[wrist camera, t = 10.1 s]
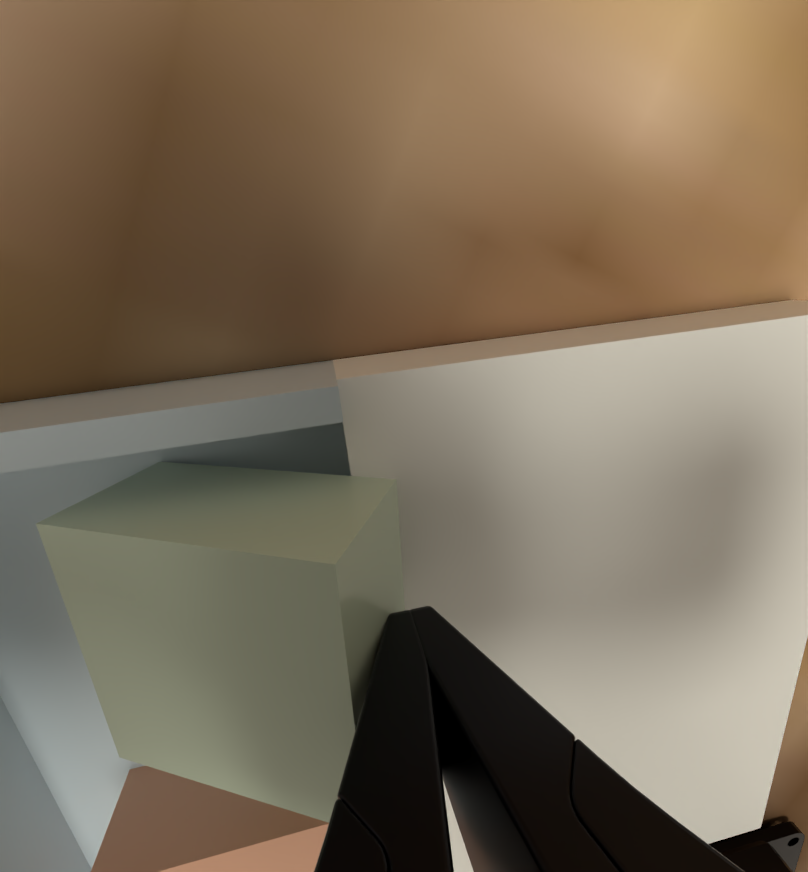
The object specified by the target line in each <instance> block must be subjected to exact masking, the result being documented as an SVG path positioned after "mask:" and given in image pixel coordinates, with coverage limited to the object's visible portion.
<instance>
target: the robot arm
mask: <svg viewBox="0 0 808 872" xmlns="http://www.w3.org/2000/svg"><path fill="white" fill-rule="evenodd" d="M443 781H444V784H445V787H446V790H447V793H448V796H449V799H450V802H451V805H452V808H453V811H454V814H455V817H456V820H457V823H458V826H459V829H460V832H461V835H462V838H463V841H464V844H465V847H466V850H467V853H468V856H469V859H470V862H471V865H472V868H473V871H474V872H795V869H796V865H797V862H798V858H799V855H800V852H801V848H802V845H803V842H804V836H805V835H804V834H803V833H802V832H801V831H800V830H799V829H798V827H797V826H796V825H795V824H794V823H793V822H785V823H782V824H778V825H775V826H772V827H769V828H765V829H762V830H759V831H756V832H752V833H749V834H746V835H743V836H739V837H736V838H733V839H729V840H726V841H723V842H720V843H716V844H713V845H709V844H707V843H706V842H705V841H703V840H702V839H701V838H699V837H698V836H697V835H695V834H694V833H693V832H691V831H690V830H689V829H687V828H686V827H685V826H683V825H682V824H681V823H679V822H678V821H677V820H675V819H674V818H673V817H672V816H670V815H669V814H668V813H666V812H665V811H664V810H663V809H661V808H660V807H659V806H658V805H656V804H655V803H654V802H652V801H651V800H650V799H649V798H647V797H646V796H645V795H643V794H642V793H641V792H640V791H638V790H637V789H636V788H635V787H633V786H632V785H631V784H630V783H629V782H628V781H626V780H625V779H624V778H623V777H622V776H621V775H619V774H618V773H617V772H616V771H615V770H614V769H612V768H611V767H610V766H609V765H608V764H607V763H605V762H604V761H603V760H602V759H601V758H600V757H598V756H597V755H596V754H595V753H594V752H593V751H592V750H591V749H590V748H588V747H587V746H586V745H585V744H584V743H583V742H582V741H581V740H579V739H577V740H576V741H575V736H574V734H573V733H572V732H570V731H569V730H568V729H567V728H566V727H565V726H564V725H563V724H562V723H560V722H559V721H558V720H557V719H556V718H555V717H554V716H553V715H552V714H550V713H549V712H548V711H547V710H546V709H545V708H544V707H543V706H542V705H540V704H539V703H538V702H537V701H536V700H535V699H534V698H533V697H532V696H530V695H529V694H528V693H527V692H526V691H525V690H524V689H523V688H522V687H520V686H519V685H518V684H517V683H516V682H515V681H514V680H513V679H511V678H510V677H509V676H508V675H507V674H506V673H505V672H504V671H503V670H501V669H500V668H499V667H498V666H497V665H496V664H495V663H494V662H493V661H491V660H490V659H489V658H488V657H487V656H486V655H485V654H484V653H483V652H481V651H480V650H479V649H478V648H477V647H476V646H475V645H474V644H473V643H471V642H470V641H469V640H468V639H467V638H466V637H465V636H464V635H463V634H461V633H460V632H459V631H458V630H457V629H456V628H455V627H454V626H453V625H451V624H450V623H449V622H448V621H447V620H446V619H445V618H444V617H442V616H441V615H440V614H439V613H438V612H437V611H436V610H435V609H434V608H432V607H431V606H424V607H419V608H414V609H410V610H404V611H399V612H394V613H390V614H389V616H388V618H387V621H386V624H385V628H384V631H383V635H382V638H381V642H380V646H379V649H378V653H377V656H376V660H375V663H374V667H373V670H372V674H371V677H370V681H369V684H368V688H367V692H366V695H365V699H364V702H363V706H362V709H361V713H360V716H359V720H358V723H357V727H356V730H355V734H354V738H353V741H352V745H351V748H350V752H349V755H348V759H347V762H346V766H345V769H344V773H343V776H342V780H341V784H340V787H339V791H338V794H337V797H338V799H337V800H336V801H335V804H334V807H333V811H332V814H331V818H330V821H329V825H328V828H327V832H326V835H325V838H324V841H323V844H322V848H321V851H320V854H319V857H318V860H317V864H316V867H315V870H314V872H454V868H453V860H452V851H451V843H450V835H449V826H448V818H447V810H446V801H445V793H444V785H443Z"/></svg>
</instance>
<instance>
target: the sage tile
mask: <svg viewBox="0 0 808 872" xmlns="http://www.w3.org/2000/svg"><path fill="white" fill-rule="evenodd" d="M36 526H37V528H38V531H39V534H40V537H41V540H42V542H43V545H44V548H45V551H46V554H47V556H48V559H49V562H50V565H51V568H52V570H53V573H54V576H55V579H56V582H57V584H58V587H59V590H60V593H61V596H62V598H63V601H64V604H65V607H66V609H67V612H68V615H69V618H70V621H71V623H72V626H73V629H74V632H75V635H76V637H77V640H78V643H79V646H80V649H81V651H82V654H83V657H84V660H85V663H86V665H87V668H88V671H89V674H90V677H91V679H92V682H93V685H94V688H95V690H96V693H97V696H98V699H99V702H100V704H101V707H102V710H103V713H104V716H105V718H106V721H107V724H108V727H109V730H110V732H111V735H112V738H113V741H114V744H115V746H116V749H117V752H118V755H119V757H120V758H123V759H126V760H129V761H133V762H136V763H139V764H142V765H145V766H149V767H152V768H155V769H158V770H161V771H165V772H168V773H171V774H174V775H178V776H181V777H184V778H187V779H190V780H194V781H197V782H200V783H203V784H206V785H210V786H213V787H216V788H219V789H222V790H226V791H229V792H232V793H235V794H239V795H242V796H245V797H248V798H251V799H255V800H258V801H261V802H264V803H267V804H271V805H274V806H277V807H280V808H283V809H287V810H290V811H293V812H296V813H299V814H303V815H306V816H309V817H312V818H316V819H319V820H322V821H325V822H328V823H329V821H330V818H331V814H332V811H333V807H334V804H335V801H336V800H337V799H338V797H337V794H338V791H339V787H340V784H341V780H342V776H343V773H344V769H345V766H346V762H347V759H348V755H349V752H350V748H351V745H352V741H353V738H354V734H355V730H356V727H357V723H358V720H359V716H360V713H361V709H362V706H363V702H364V699H365V695H366V692H367V688H368V684H369V681H370V677H371V674H372V670H373V667H374V663H375V660H376V656H377V653H378V649H379V646H380V642H381V638H382V635H383V631H384V628H385V624H386V621H387V618H388V616H389V614H390V613H394V612H399V611H404V610H405V604H404V589H403V573H402V558H401V542H400V526H399V511H398V495H397V480H396V479H384V478H371V477H358V476H344V475H331V474H318V473H305V472H292V471H279V470H265V469H252V468H239V467H226V466H213V465H199V464H186V463H173V462H158V463H156V464H154V465H152V466H150V467H148V468H146V469H144V470H142V471H140V472H138V473H136V474H134V475H132V476H130V477H128V478H126V479H124V480H122V481H120V482H118V483H116V484H114V485H112V486H110V487H108V488H106V489H104V490H102V491H100V492H98V493H96V494H94V495H92V496H90V497H88V498H86V499H84V500H82V501H80V502H78V503H76V504H74V505H72V506H70V507H68V508H66V509H64V510H62V511H60V512H58V513H56V514H54V515H52V516H50V517H48V518H46V519H44V520H42V521H40V522H38V523H36Z"/></svg>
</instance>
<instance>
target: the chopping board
mask: <svg viewBox="0 0 808 872" xmlns="http://www.w3.org/2000/svg"><path fill="white" fill-rule="evenodd" d="M333 365H334V369H335V374H336V379H337V384H338V390H339V396H340V403H341V410H342V416H343V422H342V424H343V431H344V437H345V444H346V450H347V457H348V463H349V470H350V476H358V477H371V478H384V479H396V480H397V495H398V511H399V526H400V542H401V558H402V573H403V589H404V604H405V610H410V609H414V608H419V607H424V606H431V607H432V608H434V609H435V610H436V611H437V612H438V613H439V614H440V615H441V616H442V617H444V618H445V619H446V620H447V621H448V622H449V623H450V624H451V625H453V626H454V627H455V628H456V629H457V630H458V631H459V632H460V633H461V634H463V635H464V636H465V637H466V638H467V639H468V640H469V641H470V642H471V643H473V644H474V645H475V646H476V647H477V648H478V649H479V650H480V651H481V652H483V653H484V654H485V655H486V656H487V657H488V658H489V659H490V660H491V661H493V662H494V663H495V664H496V665H497V666H498V667H499V668H500V669H501V670H503V671H504V672H505V673H506V674H507V675H508V676H509V677H510V678H511V679H513V680H514V681H515V682H516V683H517V684H518V685H519V686H520V687H522V688H523V689H524V690H525V691H526V692H527V693H528V694H529V695H530V696H532V697H533V698H534V699H535V700H536V701H537V702H538V703H539V704H540V705H542V706H543V707H544V708H545V709H546V710H547V711H548V712H549V713H550V714H552V715H553V716H554V717H555V718H556V719H557V720H558V721H559V722H560V723H562V724H563V725H564V726H565V727H566V728H567V729H568V730H569V731H570V732H572V733H573V734H574V736H575V741H576V740H577V739H579V740H581V741H582V742H583V743H584V744H585V745H586V746H587V747H588V748H590V749H591V750H592V751H593V752H594V753H595V754H596V755H597V756H598V757H600V758H601V759H602V760H603V761H604V762H605V763H607V764H608V765H609V766H610V767H611V768H612V769H614V770H615V771H616V772H617V773H618V774H619V775H621V776H622V777H623V778H624V779H625V780H626V781H628V782H629V783H630V784H631V785H632V786H633V787H635V788H636V789H637V790H638V791H640V792H641V793H642V794H643V795H645V796H646V797H647V798H649V799H650V800H651V801H652V802H654V803H655V804H656V805H658V806H659V807H660V808H661V809H663V810H664V811H665V812H666V813H668V814H669V815H670V816H672V817H673V818H674V819H675V820H677V821H678V822H679V823H681V824H682V825H683V826H685V827H686V828H687V829H689V830H690V831H691V832H693V833H694V834H695V835H697V836H698V837H699V838H701V839H702V840H703V841H705V842H706V843H707V844H710V843H713V842H716V841H720V840H723V839H726V838H729V837H733V836H736V835H739V834H743V833H746V832H749V831H752V830H756V829H759V828H761V825H762V821H763V817H764V813H765V808H766V804H767V800H768V796H769V792H770V788H771V784H772V780H773V776H774V772H775V768H776V764H777V759H778V755H779V751H780V747H781V743H782V739H783V735H784V731H785V727H786V723H787V719H788V714H789V710H790V706H791V702H792V698H793V694H794V690H795V686H796V682H797V678H798V674H799V670H800V665H801V661H802V657H803V653H804V649H805V645H806V641H807V637H808V300H787V301H779V302H772V303H764V304H756V305H749V306H741V307H733V308H726V309H718V310H711V311H703V312H695V313H688V314H680V315H672V316H665V317H657V318H649V319H642V320H634V321H627V322H619V323H611V324H604V325H596V326H588V327H581V328H573V329H565V330H558V331H550V332H543V333H535V334H527V335H520V336H512V337H504V338H497V339H489V340H481V341H474V342H466V343H459V344H451V345H443V346H436V347H428V348H420V349H413V350H405V351H397V352H390V353H382V354H375V355H367V356H359V357H352V358H344V359H336V360H333ZM443 785H444V793H445V801H446V810H447V818H448V826H449V835H450V843H451V851H452V860H453V868H454V872H474V871H473V868H472V865H471V862H470V859H469V856H468V853H467V850H466V847H465V844H464V841H463V838H462V835H461V832H460V829H459V826H458V823H457V820H456V817H455V814H454V811H453V808H452V805H451V802H450V799H449V796H448V793H447V790H446V787H445V784H444V781H443Z"/></svg>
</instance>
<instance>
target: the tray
mask: <svg viewBox="0 0 808 872" xmlns="http://www.w3.org/2000/svg"><path fill="white" fill-rule="evenodd" d="M342 422H343V416H342V410H341V403H340V396H339V390H338V384H337V379H336V374H335V369H334V365H333V360H329V361H321V362H313V363H306V364H298V365H291V366H283V367H275V368H268V369H260V370H252V371H245V372H237V373H229V374H222V375H214V376H207V377H199V378H191V379H184V380H176V381H168V382H161V383H153V384H145V385H138V386H130V387H123V388H115V389H107V390H100V391H92V392H84V393H77V394H69V395H61V396H54V397H46V398H39V399H31V400H23V401H16V402H8V403H0V872H91V870H92V867H93V865H94V862H95V859H96V857H97V854H98V851H99V849H100V846H101V844H102V841H103V838H104V836H105V833H106V830H107V828H108V825H109V822H110V820H111V817H112V815H113V812H114V809H115V807H116V804H117V801H118V799H119V796H120V794H121V791H122V788H123V786H124V783H125V780H126V778H127V775H128V772H129V770H130V769H133V768H137V767H141V766H145V765H142V764H139V763H136V762H133V761H129V760H126V759H123V758H120V757H119V755H118V752H117V749H116V746H115V744H114V741H113V738H112V735H111V732H110V730H109V727H108V724H107V721H106V718H105V716H104V713H103V710H102V707H101V704H100V702H99V699H98V696H97V693H96V690H95V688H94V685H93V682H92V679H91V677H90V674H89V671H88V668H87V665H86V663H85V660H84V657H83V654H82V651H81V649H80V646H79V643H78V640H77V637H76V635H75V632H74V629H73V626H72V623H71V621H70V618H69V615H68V612H67V609H66V607H65V604H64V601H63V598H62V596H61V593H60V590H59V587H58V584H57V582H56V579H55V576H54V573H53V570H52V568H51V565H50V562H49V559H48V556H47V554H46V551H45V548H44V545H43V542H42V540H41V537H40V534H39V531H38V528H37V526H36V523H38V522H40V521H42V520H44V519H46V518H48V517H50V516H52V515H54V514H56V513H58V512H60V511H62V510H64V509H66V508H68V507H70V506H72V505H74V504H76V503H78V502H80V501H82V500H84V499H86V498H88V497H90V496H92V495H94V494H96V493H98V492H100V491H102V490H104V489H106V488H108V487H110V486H112V485H114V484H116V483H118V482H120V481H122V480H124V479H126V478H128V477H130V476H132V475H134V474H136V473H138V472H140V471H142V470H144V469H146V468H148V467H150V466H152V465H154V464H156V463H158V462H173V463H186V464H199V465H213V466H226V467H239V468H252V469H265V470H279V471H292V472H305V473H318V474H331V475H344V476H350V470H349V463H348V457H347V450H346V444H345V437H344V431H343V424H342Z"/></svg>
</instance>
